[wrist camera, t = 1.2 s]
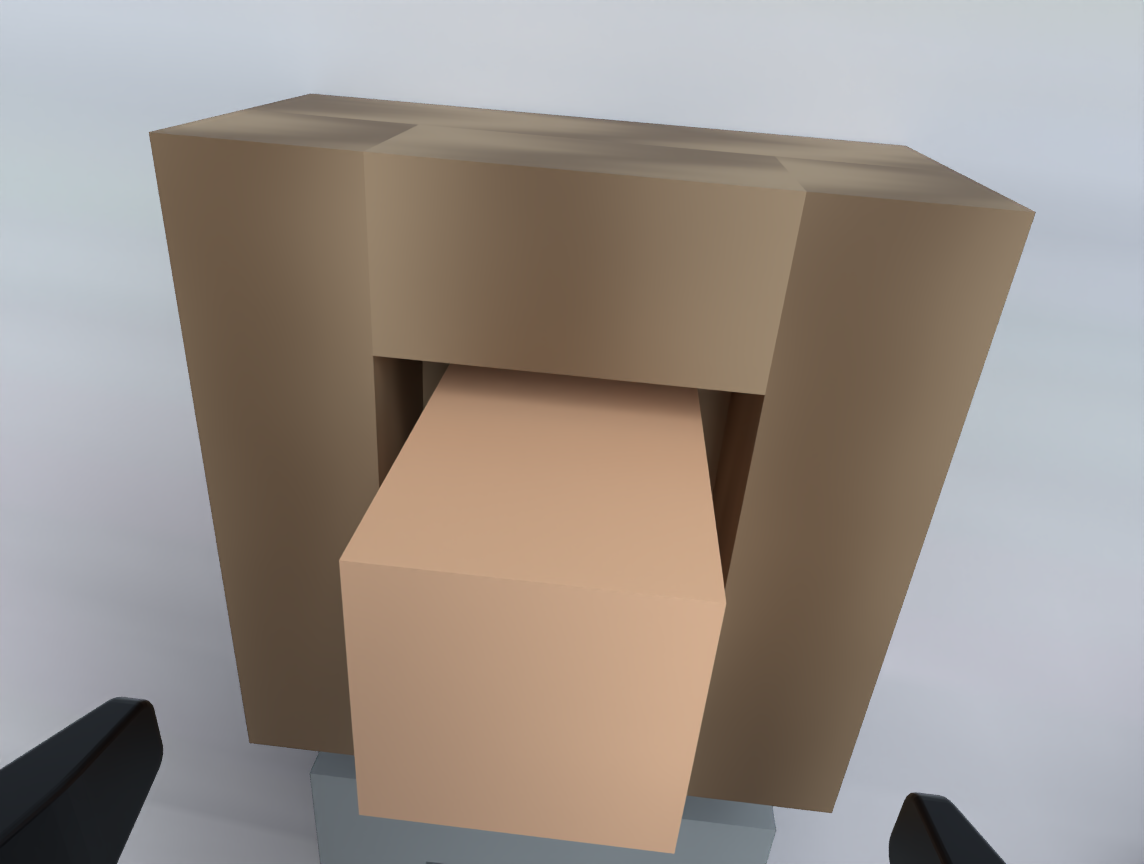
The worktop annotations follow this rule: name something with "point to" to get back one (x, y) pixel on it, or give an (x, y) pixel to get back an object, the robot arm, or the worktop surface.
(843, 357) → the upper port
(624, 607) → the plug
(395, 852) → the frame
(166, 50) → the worktop surface
